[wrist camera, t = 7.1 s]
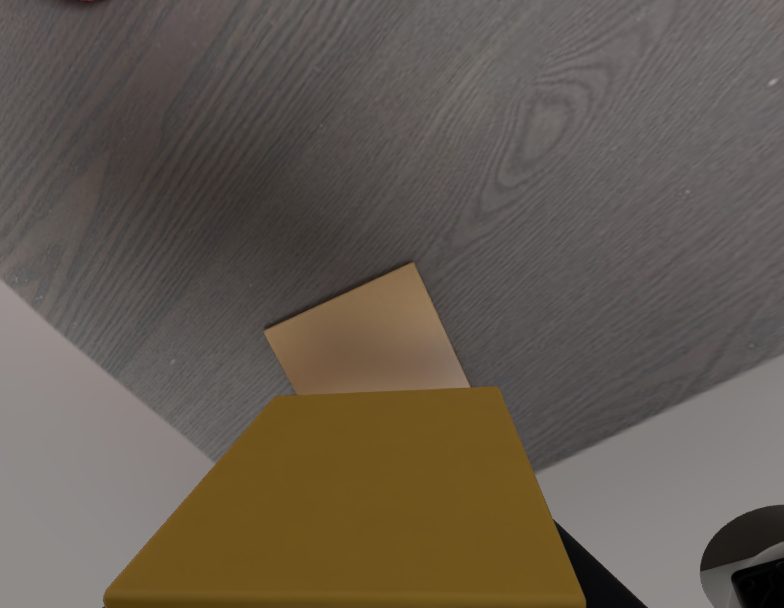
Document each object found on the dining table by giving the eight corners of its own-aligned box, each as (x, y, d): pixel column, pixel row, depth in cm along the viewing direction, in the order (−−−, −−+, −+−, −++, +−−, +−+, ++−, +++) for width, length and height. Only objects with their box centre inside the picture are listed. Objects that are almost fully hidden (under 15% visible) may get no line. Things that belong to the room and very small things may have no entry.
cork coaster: (482, 410, 20) (483, 414, 19) (338, 464, 21) (336, 469, 21) (413, 261, 18) (413, 262, 18) (265, 329, 20) (262, 331, 19)
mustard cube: (506, 580, 9) (585, 953, 4) (303, 579, 9) (185, 915, 5) (499, 384, 8) (590, 600, 3) (273, 394, 8) (95, 594, 4)
